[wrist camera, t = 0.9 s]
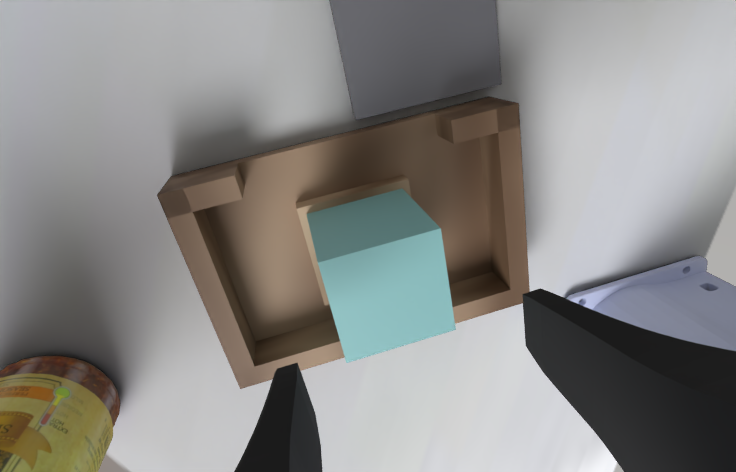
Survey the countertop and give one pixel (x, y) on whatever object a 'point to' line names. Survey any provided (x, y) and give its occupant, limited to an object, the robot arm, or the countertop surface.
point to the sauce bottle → (55, 415)
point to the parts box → (336, 187)
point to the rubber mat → (415, 50)
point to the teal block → (382, 273)
